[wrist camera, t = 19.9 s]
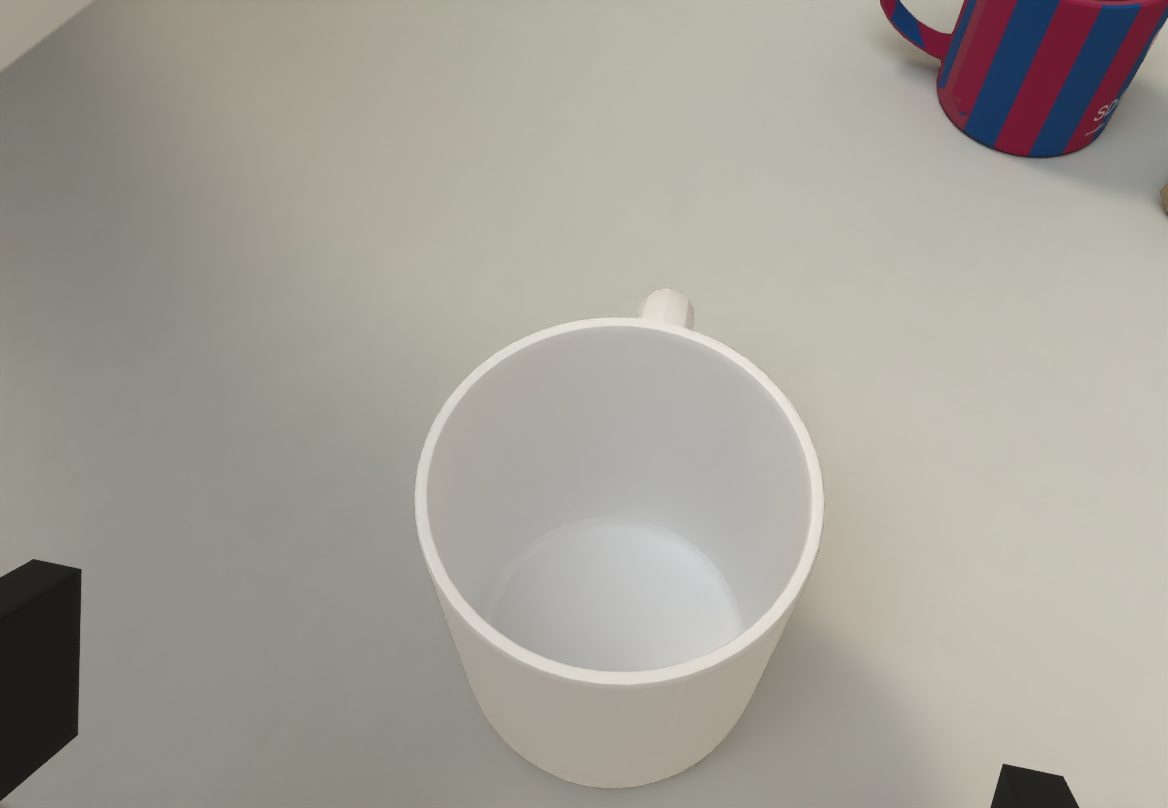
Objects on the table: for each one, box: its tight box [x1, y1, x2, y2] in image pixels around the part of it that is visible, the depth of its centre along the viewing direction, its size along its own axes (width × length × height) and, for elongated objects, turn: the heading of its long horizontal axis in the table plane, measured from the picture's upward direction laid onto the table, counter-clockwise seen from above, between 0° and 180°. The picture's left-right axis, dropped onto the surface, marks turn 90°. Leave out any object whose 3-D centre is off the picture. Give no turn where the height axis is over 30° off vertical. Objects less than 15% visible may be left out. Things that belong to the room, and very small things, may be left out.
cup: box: [880, 0, 1168, 157], centre depth 38 cm, size 7×10×7 cm
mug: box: [414, 288, 825, 788], centre depth 26 cm, size 12×8×10 cm
